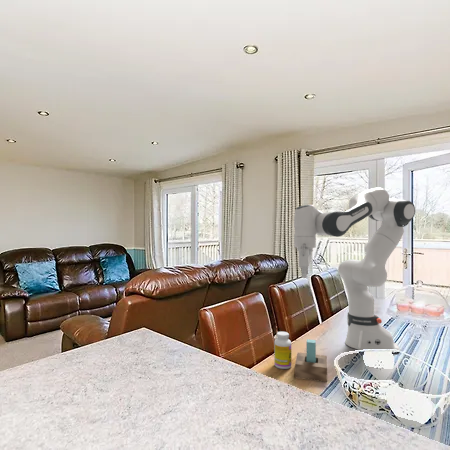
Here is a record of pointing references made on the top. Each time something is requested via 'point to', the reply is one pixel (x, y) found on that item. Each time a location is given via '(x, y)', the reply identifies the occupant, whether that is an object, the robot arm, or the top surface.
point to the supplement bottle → (282, 351)
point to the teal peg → (311, 351)
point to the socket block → (311, 368)
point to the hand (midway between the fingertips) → (305, 276)
